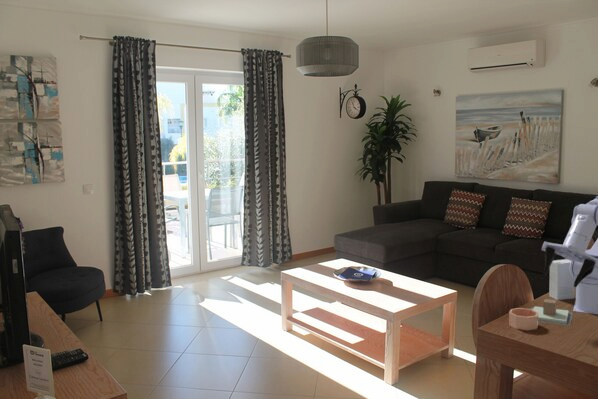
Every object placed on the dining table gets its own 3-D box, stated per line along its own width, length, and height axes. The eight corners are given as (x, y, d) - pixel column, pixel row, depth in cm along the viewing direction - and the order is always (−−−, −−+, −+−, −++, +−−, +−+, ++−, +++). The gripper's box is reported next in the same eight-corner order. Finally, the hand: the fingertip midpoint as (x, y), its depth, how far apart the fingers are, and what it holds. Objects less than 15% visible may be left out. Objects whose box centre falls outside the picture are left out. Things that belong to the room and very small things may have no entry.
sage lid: (534, 308, 154) (534, 294, 154) (568, 313, 150) (569, 298, 149) (530, 318, 146) (530, 303, 146) (566, 323, 142) (566, 308, 141)
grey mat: (531, 309, 156) (531, 307, 155) (572, 314, 150) (572, 312, 150) (525, 321, 146) (525, 319, 146) (570, 327, 141) (570, 325, 140)
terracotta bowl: (511, 320, 147) (512, 306, 147) (539, 324, 144) (539, 310, 143) (507, 329, 141) (507, 314, 141) (535, 333, 138) (536, 318, 137)
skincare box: (565, 295, 166) (566, 258, 165) (575, 300, 162) (576, 261, 160) (548, 297, 165) (548, 260, 164) (557, 301, 161) (558, 263, 159)
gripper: (551, 223, 145) (532, 261, 140) (608, 241, 137) (591, 283, 132) (549, 236, 150) (531, 274, 145) (605, 254, 142) (588, 295, 137)
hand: (559, 279), depth 139 cm, fingers open, 7 cm apart
